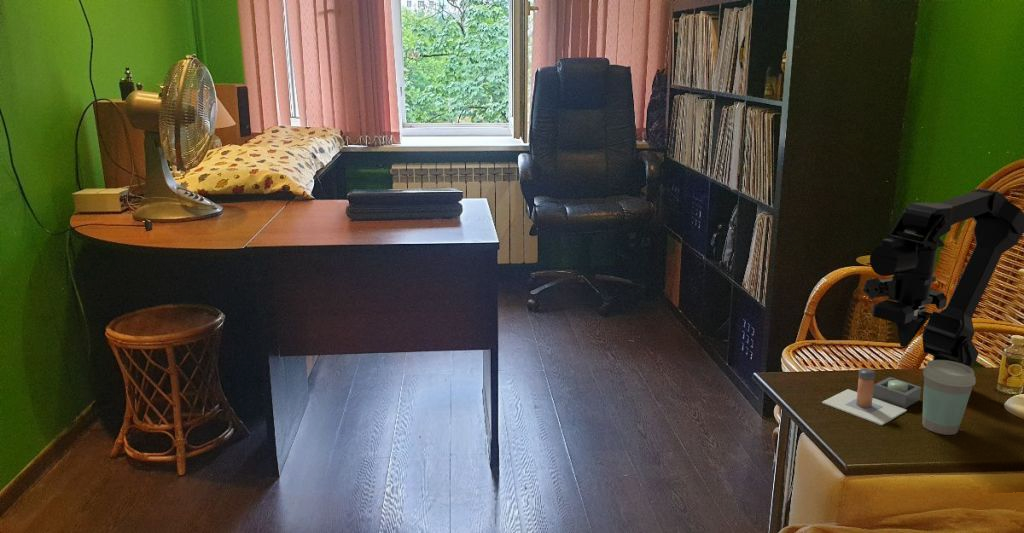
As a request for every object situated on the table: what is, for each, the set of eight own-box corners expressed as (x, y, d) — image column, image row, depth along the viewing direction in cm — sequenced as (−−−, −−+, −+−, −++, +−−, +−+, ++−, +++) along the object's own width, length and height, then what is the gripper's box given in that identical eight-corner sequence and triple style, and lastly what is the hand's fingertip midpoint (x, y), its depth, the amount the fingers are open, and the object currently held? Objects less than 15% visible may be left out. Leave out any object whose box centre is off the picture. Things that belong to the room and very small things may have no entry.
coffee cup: (973, 440, 138) (985, 379, 135) (921, 435, 140) (932, 374, 137) (956, 419, 146) (967, 360, 143) (908, 415, 148) (918, 356, 145)
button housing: (887, 389, 159) (889, 376, 158) (919, 400, 154) (921, 387, 154) (872, 397, 155) (874, 384, 155) (904, 408, 151) (906, 395, 150)
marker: (859, 400, 153) (862, 367, 151) (874, 404, 151) (878, 371, 149) (853, 405, 151) (856, 371, 149) (868, 409, 149) (871, 375, 147)
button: (891, 389, 157) (893, 378, 156) (909, 395, 154) (911, 384, 154) (883, 394, 155) (885, 383, 154) (901, 400, 152) (903, 389, 152)
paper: (847, 390, 158) (847, 388, 158) (906, 411, 149) (907, 409, 149) (821, 403, 152) (822, 401, 152) (881, 425, 143) (882, 423, 143)
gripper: (897, 254, 159) (885, 326, 164) (851, 268, 148) (840, 344, 152) (954, 266, 151) (940, 341, 155) (910, 281, 140) (897, 361, 144)
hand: (903, 346), depth 152 cm, fingers closed
